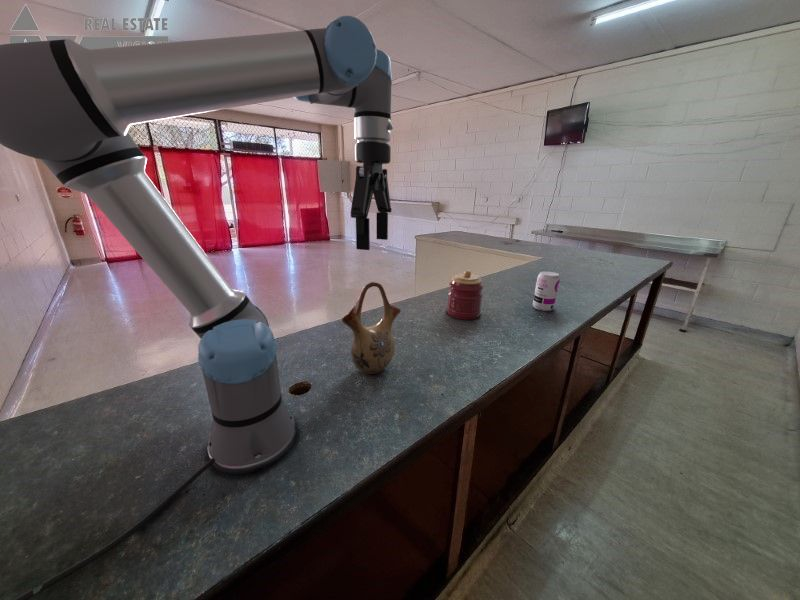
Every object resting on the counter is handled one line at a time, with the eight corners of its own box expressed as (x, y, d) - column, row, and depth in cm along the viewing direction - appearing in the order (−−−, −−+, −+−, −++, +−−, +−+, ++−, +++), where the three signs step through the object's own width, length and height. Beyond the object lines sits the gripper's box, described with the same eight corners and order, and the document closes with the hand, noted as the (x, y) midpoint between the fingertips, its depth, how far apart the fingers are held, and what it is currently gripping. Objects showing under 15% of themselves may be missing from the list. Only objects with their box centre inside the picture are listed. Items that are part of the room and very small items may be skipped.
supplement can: (554, 306, 134) (561, 272, 129) (551, 313, 127) (559, 277, 122) (534, 302, 138) (540, 269, 133) (530, 308, 132) (536, 273, 126)
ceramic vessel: (352, 388, 78) (349, 292, 69) (338, 370, 85) (333, 281, 76) (407, 369, 86) (411, 282, 77) (390, 355, 93) (392, 273, 84)
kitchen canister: (487, 315, 123) (492, 272, 117) (463, 323, 116) (468, 276, 110) (463, 305, 133) (467, 264, 127) (439, 311, 126) (443, 268, 120)
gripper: (369, 134, 54) (370, 256, 61) (404, 148, 77) (401, 236, 84) (329, 134, 56) (335, 253, 63) (374, 148, 78) (375, 235, 86)
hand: (373, 244), depth 74 cm, fingers open, 13 cm apart
